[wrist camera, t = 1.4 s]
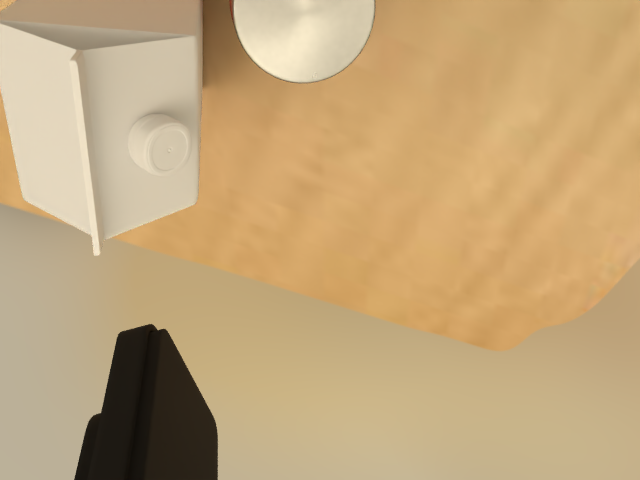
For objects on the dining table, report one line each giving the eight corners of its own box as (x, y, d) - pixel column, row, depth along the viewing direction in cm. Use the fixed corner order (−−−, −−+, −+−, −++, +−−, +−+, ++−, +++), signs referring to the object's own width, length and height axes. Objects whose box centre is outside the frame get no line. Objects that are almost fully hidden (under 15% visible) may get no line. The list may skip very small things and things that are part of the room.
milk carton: (88, 83, 35) (-10, 256, 20) (73, -42, 31) (-62, 50, 16) (202, 89, 36) (197, 256, 21) (202, -29, 33) (195, 68, 17)
